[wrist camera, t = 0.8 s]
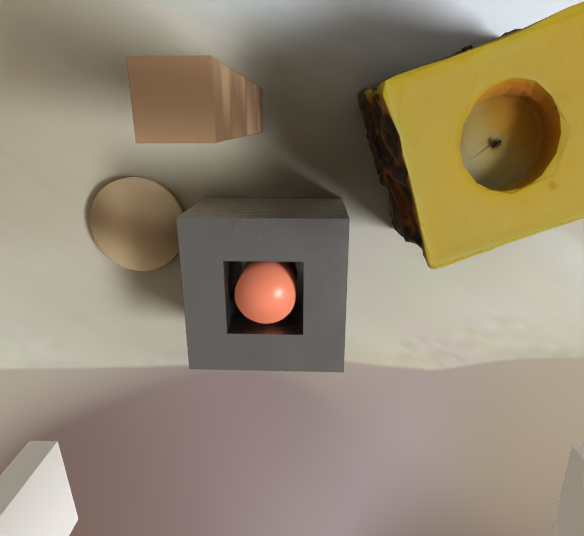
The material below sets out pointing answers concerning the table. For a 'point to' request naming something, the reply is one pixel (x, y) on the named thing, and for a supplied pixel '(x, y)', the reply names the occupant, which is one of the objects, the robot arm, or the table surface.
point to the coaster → (136, 223)
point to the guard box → (274, 248)
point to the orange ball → (266, 290)
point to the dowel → (191, 100)
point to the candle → (484, 140)
